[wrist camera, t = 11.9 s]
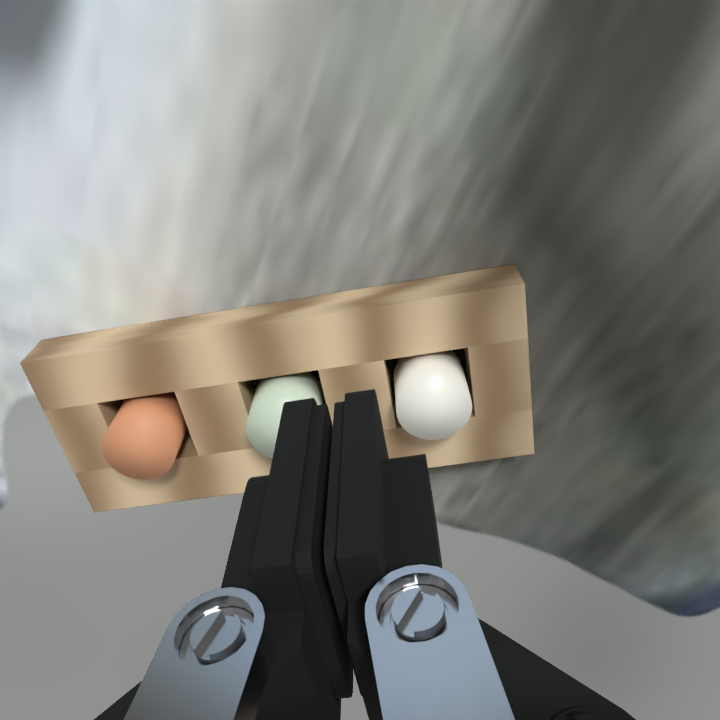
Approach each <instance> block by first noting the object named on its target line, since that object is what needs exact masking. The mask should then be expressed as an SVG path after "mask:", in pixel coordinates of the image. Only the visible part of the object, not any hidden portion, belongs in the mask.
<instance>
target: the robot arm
mask: <svg viewBox="0 0 720 720" xmlns="http://www.w3.org/2000/svg"><path fill="white" fill-rule="evenodd" d="M353 669H354V673H355V676H356V680H357V683H358V687H359V690H360V694H361V695H362V696H363V699H364V703H365V706H366V710H367V713H368V717H369V720H635V719H634V718H633V717H632V716H631V715H629V714H628V713H627V712H626V711H624V710H623V709H622V708H620V707H618V706H617V705H615V704H613V703H612V702H610V701H609V700H607V699H606V698H604V697H602V696H601V695H599V694H598V693H596V692H595V691H593V690H591V689H590V688H588V687H587V686H585V685H583V684H582V683H580V682H579V681H577V680H575V679H574V678H572V677H571V676H569V675H568V674H566V673H564V672H563V671H561V670H559V669H558V668H556V667H555V666H553V665H552V664H550V663H549V662H547V661H545V660H544V659H542V658H541V657H539V656H537V655H536V654H534V653H533V652H531V651H529V650H528V649H526V648H525V647H523V646H522V645H520V644H518V643H516V642H515V641H514V640H512V639H510V638H509V637H507V636H506V635H504V634H502V633H501V632H499V631H498V630H496V629H495V628H493V627H491V626H490V625H488V624H487V623H485V622H483V621H482V620H480V619H479V618H477V615H476V612H475V609H474V607H473V604H472V602H471V598H470V596H469V593H468V591H467V590H466V588H465V586H464V585H463V583H462V582H461V580H459V579H458V578H457V577H456V576H455V575H453V574H452V573H451V572H449V571H447V570H444V569H442V562H441V554H440V547H439V540H438V532H437V524H436V517H435V511H434V504H433V497H432V491H431V484H430V478H429V472H428V465H427V459H426V454H421V455H413V456H406V457H399V458H391V459H389V456H388V451H387V446H386V441H385V436H384V431H383V425H382V420H381V415H380V410H379V405H378V400H377V395H376V391H375V389H371V390H364V391H357V392H350V393H346V394H345V400H344V401H343V402H336V403H335V405H334V417H333V425H332V421H331V417H330V413H329V409H328V406H327V404H322V405H317V402H316V400H315V399H314V398H309V399H302V400H295V401H289V402H285V403H284V405H283V409H282V414H281V419H280V424H279V429H278V434H277V439H276V444H275V449H274V454H273V458H272V463H271V468H270V473H269V475H266V476H258V477H251V478H250V479H249V480H248V482H247V484H246V488H245V492H244V496H243V500H242V504H241V509H240V512H239V516H238V521H237V525H236V529H235V533H234V537H233V541H232V545H231V549H230V553H229V557H228V561H227V565H226V570H225V574H224V578H223V582H222V586H221V588H220V589H215V590H212V591H210V592H207V593H204V594H201V595H200V596H198V597H196V598H195V599H193V600H192V601H190V602H189V603H187V604H186V605H185V606H184V607H183V608H182V609H181V610H180V611H179V612H178V613H177V614H176V615H175V617H174V618H173V620H172V621H171V623H170V624H169V626H168V627H167V629H166V631H165V633H164V636H163V638H162V640H161V642H160V644H159V647H158V648H157V650H156V652H155V655H154V657H153V659H152V661H151V663H150V665H149V667H148V669H147V671H146V674H145V676H144V678H143V680H142V681H141V682H140V683H139V684H137V685H136V686H135V687H134V688H132V689H131V690H130V691H129V692H127V693H126V694H125V695H124V696H122V697H121V698H120V699H119V700H118V701H116V702H115V703H114V704H113V705H111V706H110V707H109V708H108V709H107V710H105V711H104V712H103V713H102V714H101V715H99V716H98V717H97V718H96V719H94V720H340V715H341V698H349V697H351V696H352V693H353Z"/></svg>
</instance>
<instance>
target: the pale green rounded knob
mask: <svg viewBox="0 0 720 720" xmlns="http://www.w3.org/2000/svg"><path fill="white" fill-rule="evenodd" d="M309 398H314V399H315V400H316V402H317V405H322V404H323V401H324V393H323V388H322V385H321V383H320V381H319V380H318V378H317V377H316V376H315V375H314V374H313V373H311V372H310V371H308V372H302V373H295V374H288V375H282V376H275V377H268V378H262V379H259V381H258V384H257V387H256V390H255V394H254V397H253V401H252V405H251V408H250V412H249V415H248V419H247V423H246V433H247V437H248V439H249V441H250V443H251V444H252V446H253V447H254V448H255V449H256V450H257V451H259V452H260V453H262V454H263V455H265V456H267V457H270V458H273V454H274V449H275V444H276V439H277V434H278V429H279V424H280V419H281V414H282V409H283V405H284V403H285V402H289V401H295V400H302V399H309Z"/></svg>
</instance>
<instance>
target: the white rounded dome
mask: <svg viewBox="0 0 720 720" xmlns="http://www.w3.org/2000/svg"><path fill="white" fill-rule="evenodd" d="M394 388H395V401H396V414H397V418H398V421H399V423H400V424H401V426H402V427H403V428H404V429H405V430H406V431H407V432H408V433H410V434H411V435H413V436H415V437H418V438H421V439H426V440H439V439H444V438H447V437H450V436H452V435H454V434H456V433H457V432H459V431H460V430H461V429H462V428H463V427H464V426H465V425H466V424H467V422H468V420H469V418H470V416H471V413H472V401H471V397H470V393H469V389H468V385H467V382H466V378H465V374H464V370H463V366H462V363H461V361H460V359H459V357H458V356H457V355H456V354H455V353H454V352H453V351H452V350H449V351H442V352H435V353H429V354H422V355H415V356H409V357H402V358H399V359H398V361H397V363H396V365H395V368H394Z"/></svg>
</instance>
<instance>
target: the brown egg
mask: <svg viewBox="0 0 720 720" xmlns="http://www.w3.org/2000/svg"><path fill="white" fill-rule="evenodd" d="M187 429H188V427H187V424H186V421H185V419H184V416H183V413H182V411H181V408H180V405H179V403H178V400H177V397H176V395H175V393H174V392H168V393H161V394H155V395H148V396H141V397H135V398H128V399H125V401H124V402H123V404H122V406H121V407H120V409H119V411H118V412H117V414H116V416H115V418H114V419H113V421H112V423H111V424H110V426H109V428H108V429H107V431H106V433H105V434H104V436H103V439H102V444H101V448H102V453H103V455H104V458H105V459H106V461H107V462H108V464H109V465H110V466H111V467H112V468H113V469H115V470H116V471H117V472H119V473H121V474H123V475H125V476H127V477H130V478H134V479H140V480H149V479H155V478H158V477H160V476H162V475H164V474H165V473H167V472H168V471H169V470H170V469H171V467H172V465H173V463H174V461H175V458H176V456H177V453H178V451H179V449H180V446H181V444H182V441H183V439H184V436H185V434H186V431H187Z"/></svg>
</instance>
